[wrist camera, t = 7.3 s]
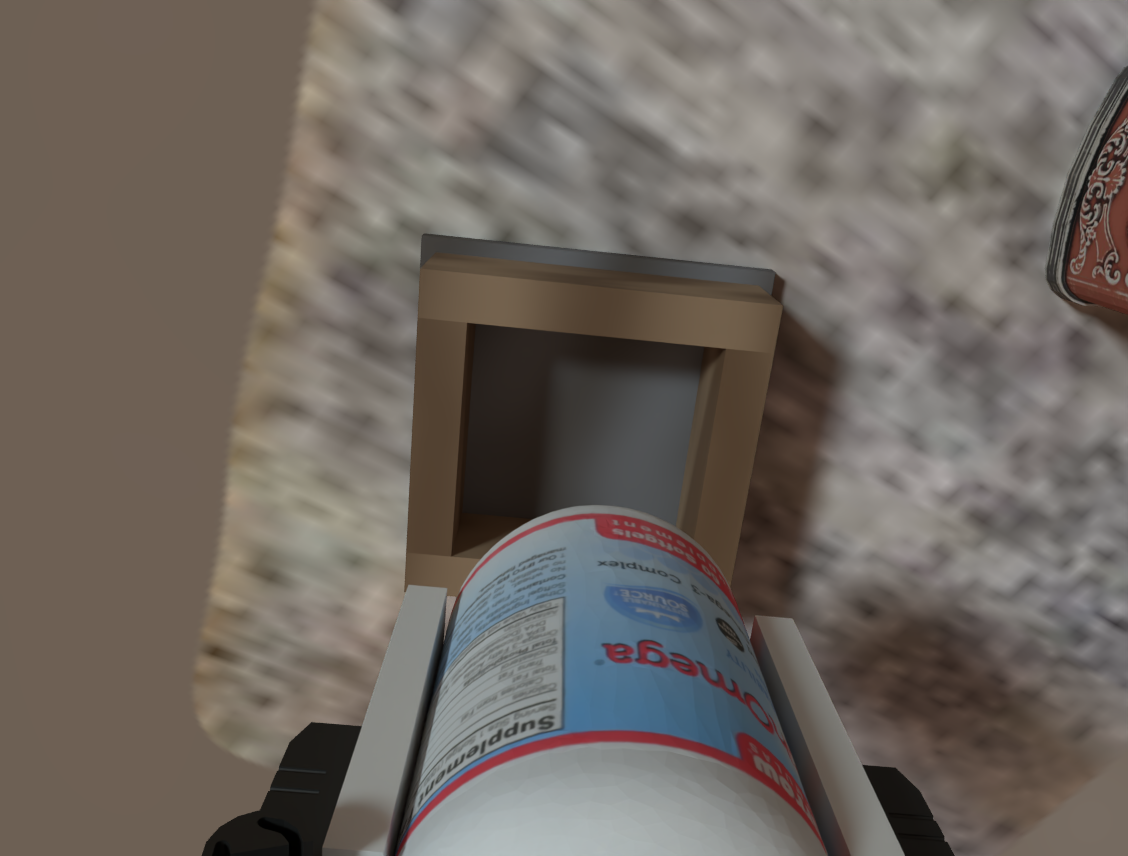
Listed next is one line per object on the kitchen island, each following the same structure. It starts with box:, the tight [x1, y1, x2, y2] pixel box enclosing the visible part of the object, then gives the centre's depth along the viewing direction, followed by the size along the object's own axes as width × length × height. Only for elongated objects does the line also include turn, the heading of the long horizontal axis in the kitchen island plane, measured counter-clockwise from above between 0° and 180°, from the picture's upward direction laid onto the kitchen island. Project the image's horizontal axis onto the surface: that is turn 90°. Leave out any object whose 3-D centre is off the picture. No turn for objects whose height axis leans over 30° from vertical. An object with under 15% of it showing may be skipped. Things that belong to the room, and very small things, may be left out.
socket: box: [404, 234, 783, 597], centre depth 30 cm, size 12×12×4 cm
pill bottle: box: [394, 505, 828, 856], centre depth 13 cm, size 6×6×11 cm
